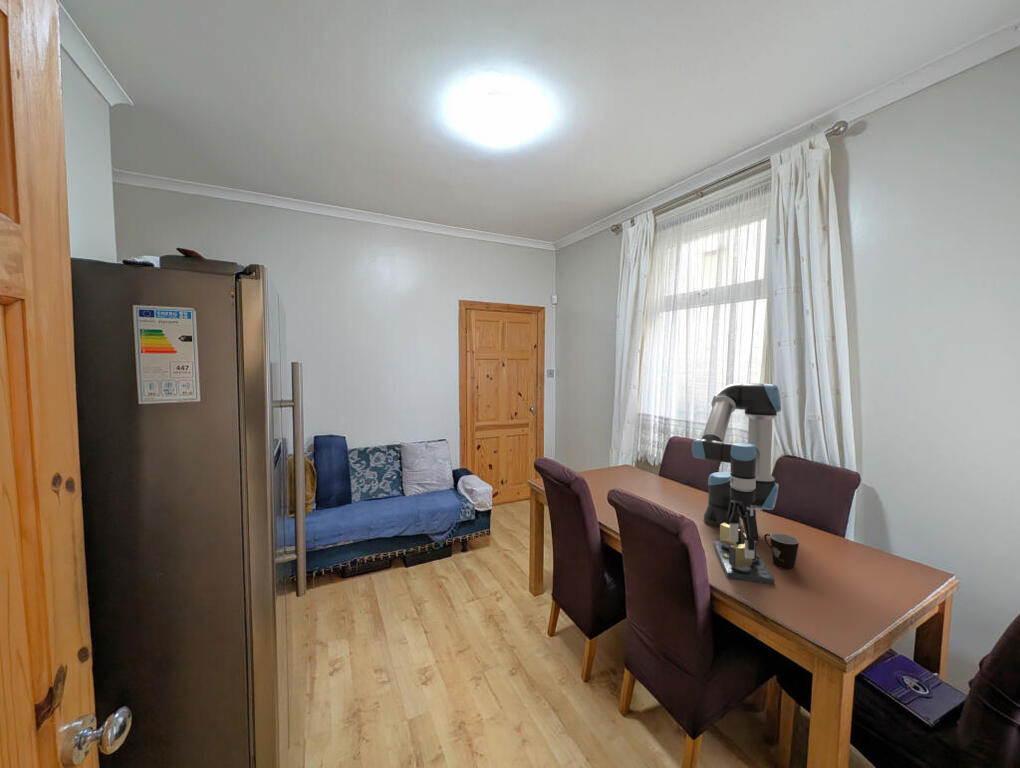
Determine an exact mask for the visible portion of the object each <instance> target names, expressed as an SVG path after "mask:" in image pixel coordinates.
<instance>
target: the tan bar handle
mask: <svg viewBox="0 0 1020 768" xmlns="http://www.w3.org/2000/svg"><path fill="white" fill-rule="evenodd" d="M729 564H730V565H731V567H732V568H733V569H734V570H736V571H738V572H742V573H749V572H751V565H752V559H751V558H745V544H743V543H741V544H739V545H732V546H729Z"/></svg>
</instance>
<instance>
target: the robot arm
mask: <svg viewBox="0 0 1020 768" xmlns="http://www.w3.org/2000/svg"><path fill="white" fill-rule="evenodd" d="M711 407H712V408H711V411H710V413H709V417H708V418H707V422H706V425H705V428H704V430H703V434H702V436H701V438H696V439H694V440H692V444H691V454H692V457H694V458H695V459H701V460H704V461H712V462H713V461H714V462H723V463H726V464H727V463H729V464H730V471H718V472H717V471H716V472H713V473H711V474H709V476H708V483H707V485H708V488H707V489H708V490H707V491H708V492H707V493H708V495H707V506H706V509H705V512H704V514H703V522H705V524H707V525H709V526H711V527H714V528H716V529H720V524H722V523H726V524H728V525H730V534H729V541H731V542H738V529H740V528H741V527H742V524H743V529H744V533H745V534H746V538H744V539H745V558H751V559H754V552H755V542H759V541H760V537H759V533H758V532H759V531H758V523H757V517H756V516H757V515H756V514H757V511H756V509H752V508H757V509H760V510H766V511H767V510H768V511H771V510H773V509H774V508H775V507H776V503H777V499H778V498H777V497H778V493H779V486H780V484H778V483H777V482H776V481H775V480H776V479H775V477H774V476H773V475H772V472H771V471H772V446H773V445H772V438H773V436H772V435H773V420H774V418H776V417H777V416H778V414H777V413H780V412H781V411H782V402H781V394H780V389H779V386H778V385H776V384H773V383H772V384H771V383H743V382H742V383H741V382H740V383H739V382H736V383H732V384H729V385H727V386H725V387H723V388H721V389H720V390H719V391H717V393H716V394H715V395H714V396H713V398H712V401H711ZM735 410H742V411H744V415H745V416H746V417H747V418H748V432H747V434H748V435H747V442H727V441H725V440H724V439H725V437H726V434H727V433H726V432H727V430H728V426H729V423H730V419H731V416H732V414H733V413H734V412H735Z"/></svg>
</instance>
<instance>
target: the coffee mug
mask: <svg viewBox="0 0 1020 768" xmlns="http://www.w3.org/2000/svg"><path fill="white" fill-rule="evenodd" d="M767 536H768V537H769V538H770V544H769V541H768V539H767ZM763 539H764V541H765V543H766V545H767V546H768V547H769V549H770V550H771V555H772V556H771V558H772V563H773V565H774V566H776V567H778V568H779V569H783V570H788V571H792V570H794V569H795V566H796V562H797V556H798V550H799V546H800V540H799V539H797V537H794V536H792V535H789V534H787V533H779V532H775V533H770V534H769V533H766V534H764V536H763Z"/></svg>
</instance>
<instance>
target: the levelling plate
mask: <svg viewBox="0 0 1020 768" xmlns="http://www.w3.org/2000/svg"><path fill="white" fill-rule="evenodd" d="M713 547H714V550H715V552H716V555H717V557H718V560H719V561H720V564H721V567H722V569H723V570H724V574H725V576H726V578H727V579H729V580H730V579H731V580H736V581H737V580H738V581H745V582H752V583H759V584H767V585H775V577H774V576H773V574H772V572H771V571H770V570H769V568H768V567H767V565H766V563H765V562H764V560H763V558H762V557H761V556H760V553H759V552H758V551H757V550H756V554H757V555H758V556H759V561H758V562H757V563H752V565H751V572H749V573H742V572H738V571H736V570H734V569H733V568H732V567H731V565H730V564H729V550H727V549H725V548H723V547H722V546H721V541H716V540H714V541H713Z"/></svg>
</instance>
